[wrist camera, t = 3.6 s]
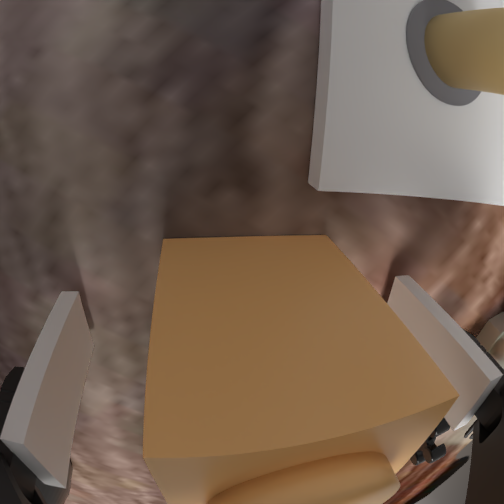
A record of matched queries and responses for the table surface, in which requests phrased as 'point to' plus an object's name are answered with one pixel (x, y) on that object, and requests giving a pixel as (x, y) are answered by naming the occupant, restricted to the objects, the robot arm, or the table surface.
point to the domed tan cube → (280, 377)
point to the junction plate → (410, 99)
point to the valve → (500, 348)
